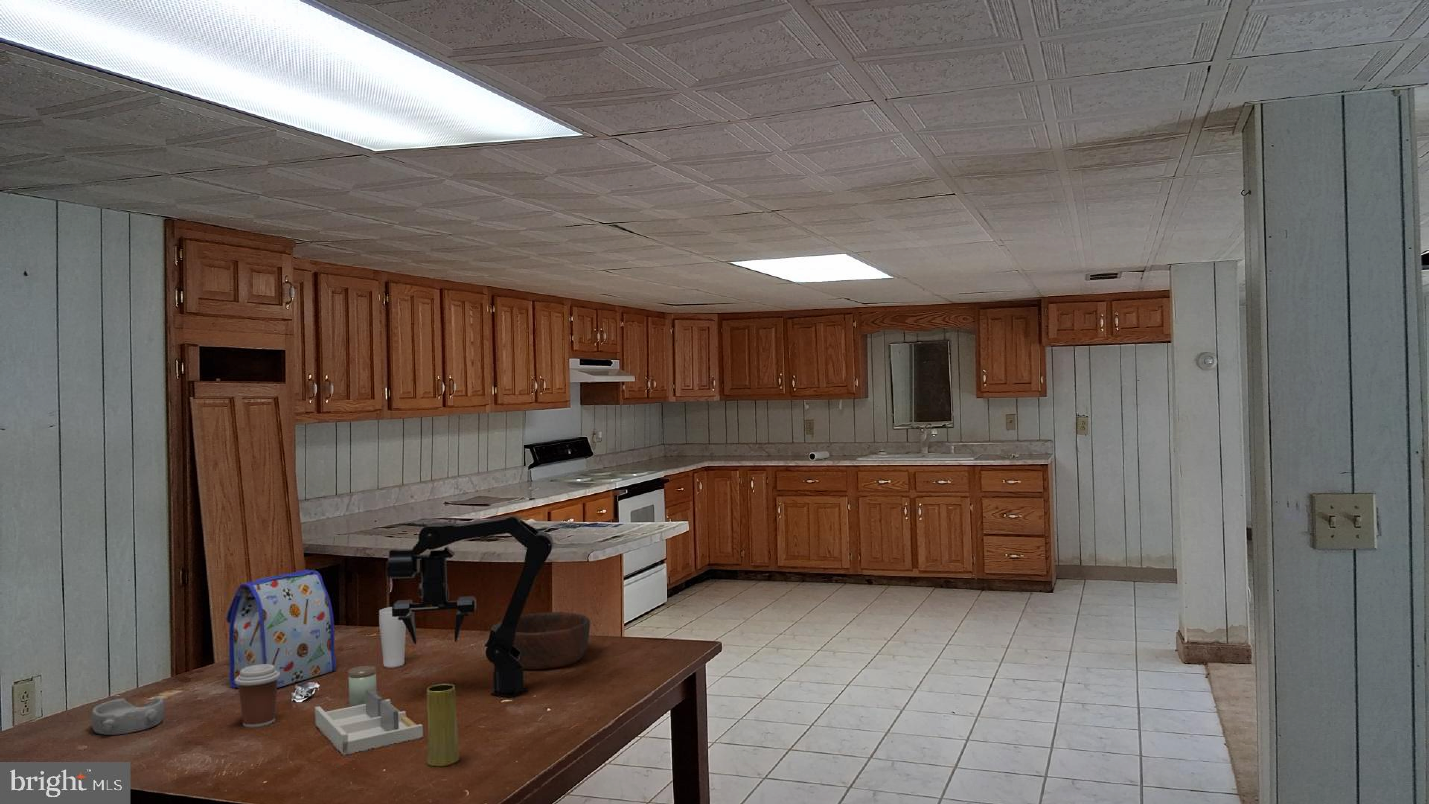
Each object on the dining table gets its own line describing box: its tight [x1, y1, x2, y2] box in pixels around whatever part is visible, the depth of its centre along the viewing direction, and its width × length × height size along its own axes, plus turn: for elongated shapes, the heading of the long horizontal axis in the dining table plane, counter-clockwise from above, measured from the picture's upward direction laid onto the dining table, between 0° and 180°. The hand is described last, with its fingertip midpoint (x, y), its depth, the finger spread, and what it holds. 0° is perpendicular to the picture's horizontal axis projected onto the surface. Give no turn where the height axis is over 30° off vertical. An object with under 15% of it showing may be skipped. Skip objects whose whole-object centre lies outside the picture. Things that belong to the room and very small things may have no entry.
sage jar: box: [348, 665, 377, 707], centre depth 226 cm, size 6×6×8 cm
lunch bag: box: [225, 569, 337, 689], centre depth 249 cm, size 23×17×27 cm
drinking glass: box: [378, 606, 407, 669], centre depth 258 cm, size 7×7×15 cm
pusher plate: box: [366, 689, 383, 718], centre depth 213 cm, size 1×9×5 cm, turn 36°
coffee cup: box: [235, 664, 280, 728], centre depth 215 cm, size 9×9×12 cm
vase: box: [426, 683, 460, 767], centre depth 188 cm, size 6×6×14 cm
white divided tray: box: [314, 698, 424, 756], centre depth 207 cm, size 16×23×6 cm
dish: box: [90, 696, 165, 736], centre depth 215 cm, size 14×14×5 cm
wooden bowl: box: [495, 611, 591, 671], centre depth 260 cm, size 25×25×10 cm
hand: (435, 642), depth 229 cm, fingers open, 9 cm apart
